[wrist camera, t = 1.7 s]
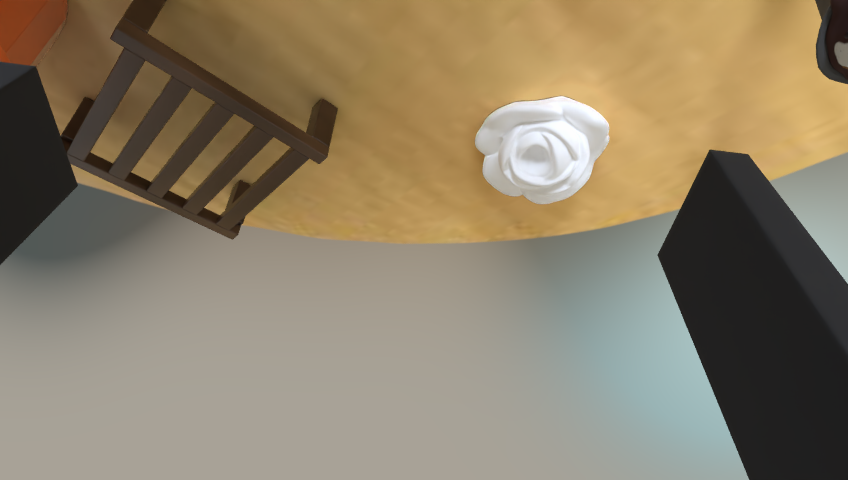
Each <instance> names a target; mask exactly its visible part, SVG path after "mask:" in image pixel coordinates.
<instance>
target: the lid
mask: <svg viewBox="0 0 848 480" xmlns="http://www.w3.org/2000/svg"><path fill="white" fill-rule="evenodd" d="M0 62H6V63H11V62H10V60H9V58H8V56H7V54H6V52H5V51H4V49H3V48H2V46H1V45H0Z"/></svg>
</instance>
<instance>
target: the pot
mask: <svg viewBox="0 0 848 480" xmlns="http://www.w3.org/2000/svg"><path fill="white" fill-rule="evenodd" d="M67 10H68V5H67V0H0V45H1V46H2V48H3V49H4V51H5V52H6V54H7V56H8V58H9V60H10V62H11V63H14V64H22V65H30V66H36V67H37V66H38V64H39V63H40V62H41V60H42V59H43V57H44V56H45V55H46V53H47V52H48V51H49V49H50V48H51V47H52V45H53V44H54V43H55V41H56V40H57V38H58V36H59V33H60V32H61V30H62V28H63V27H64V25H65V22H66V18H67Z"/></svg>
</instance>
